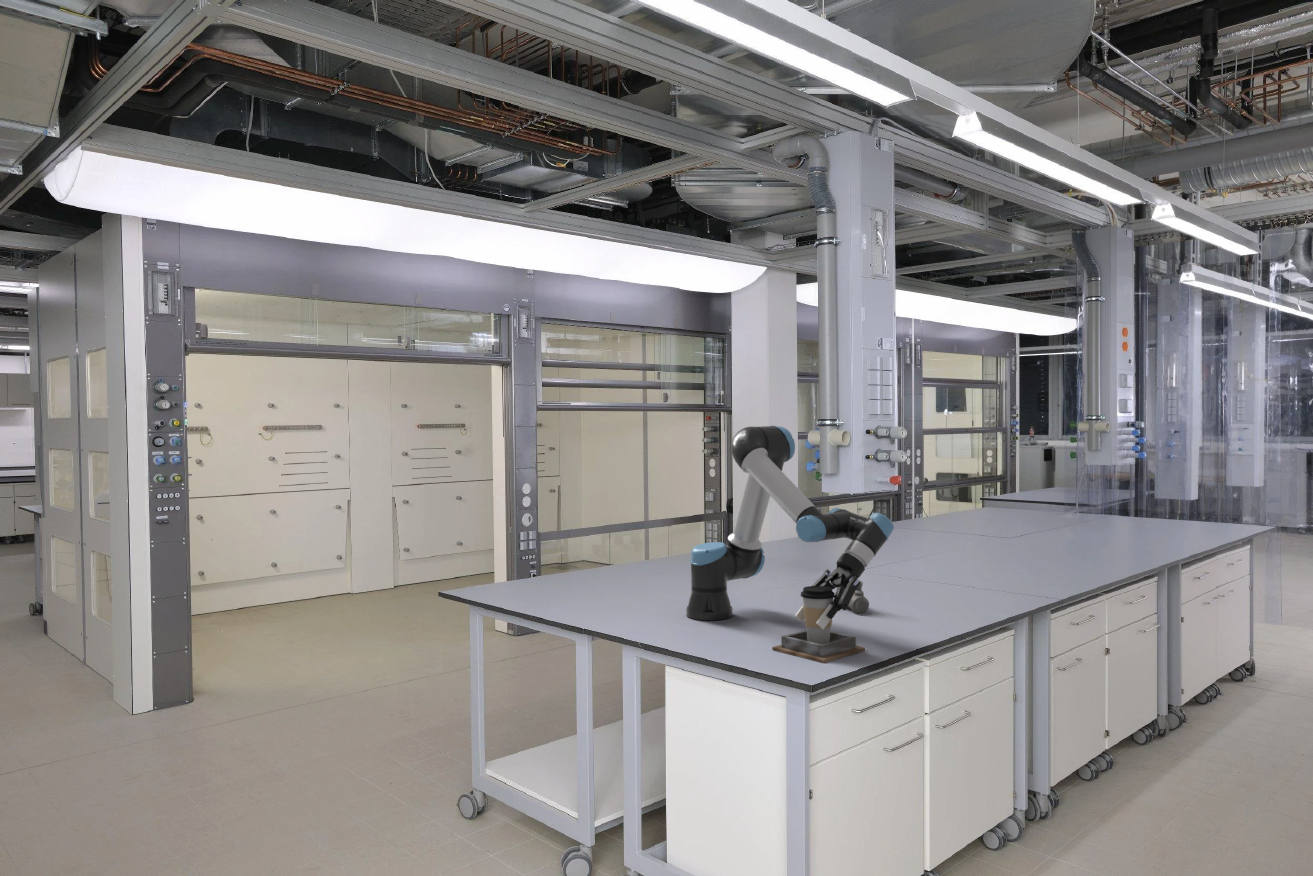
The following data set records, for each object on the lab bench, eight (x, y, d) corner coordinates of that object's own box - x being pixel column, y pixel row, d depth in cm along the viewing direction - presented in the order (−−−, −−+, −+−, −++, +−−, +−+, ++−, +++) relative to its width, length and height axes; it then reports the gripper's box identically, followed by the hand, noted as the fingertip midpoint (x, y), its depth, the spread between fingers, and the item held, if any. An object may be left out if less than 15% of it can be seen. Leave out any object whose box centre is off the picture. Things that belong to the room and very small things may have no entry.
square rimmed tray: (772, 650, 245) (772, 636, 245) (814, 638, 256) (813, 625, 256) (823, 663, 231) (823, 648, 231) (865, 650, 243) (865, 636, 242)
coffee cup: (832, 648, 238) (832, 592, 237) (798, 645, 241) (797, 590, 240) (838, 639, 246) (837, 586, 246) (804, 637, 250) (803, 584, 249)
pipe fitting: (834, 605, 299) (838, 576, 297) (857, 606, 300) (860, 577, 299) (847, 617, 287) (851, 587, 286) (871, 618, 288) (874, 588, 287)
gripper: (888, 575, 240) (841, 639, 233) (838, 563, 260) (794, 622, 253) (872, 557, 237) (824, 622, 231) (823, 546, 257) (778, 606, 251)
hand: (808, 622), depth 242 cm, fingers closed on coffee cup, 9 cm apart
